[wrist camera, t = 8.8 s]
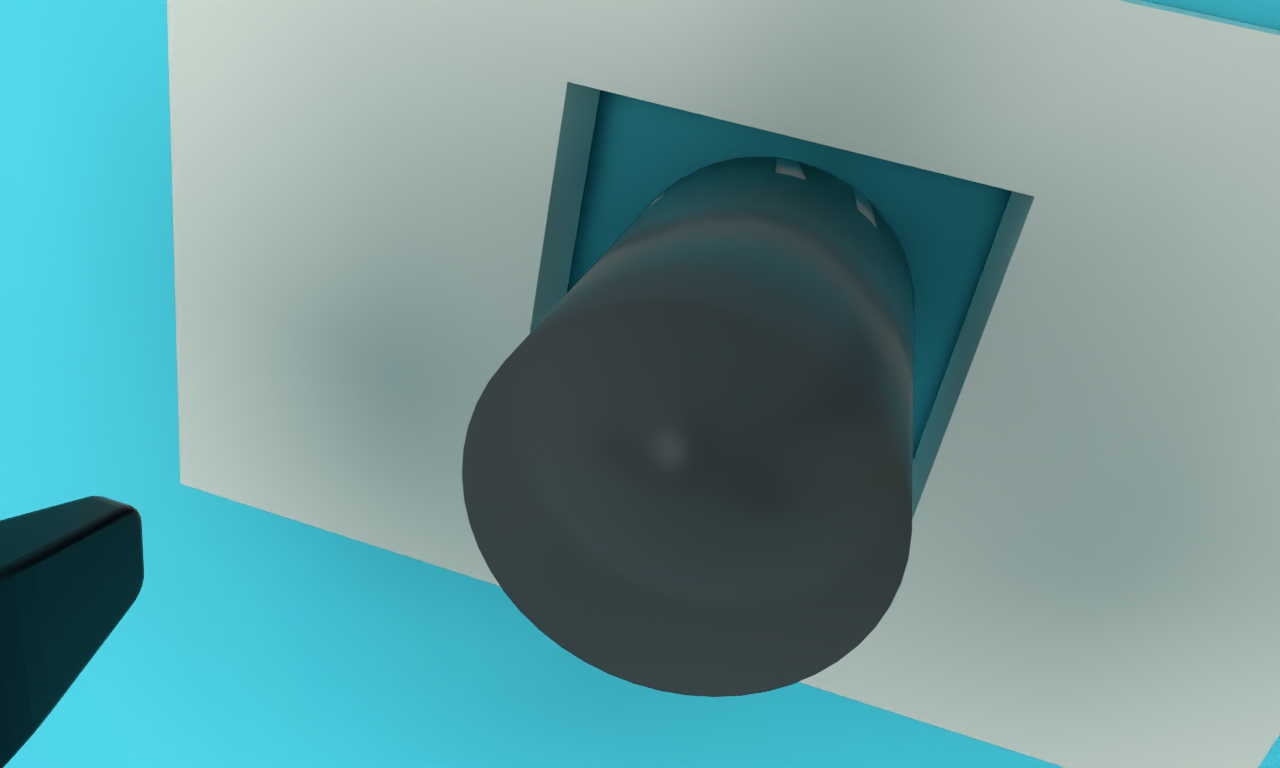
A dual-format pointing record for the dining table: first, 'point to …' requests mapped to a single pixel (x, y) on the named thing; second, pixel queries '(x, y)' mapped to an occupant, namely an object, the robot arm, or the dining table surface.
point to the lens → (710, 438)
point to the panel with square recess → (834, 116)
